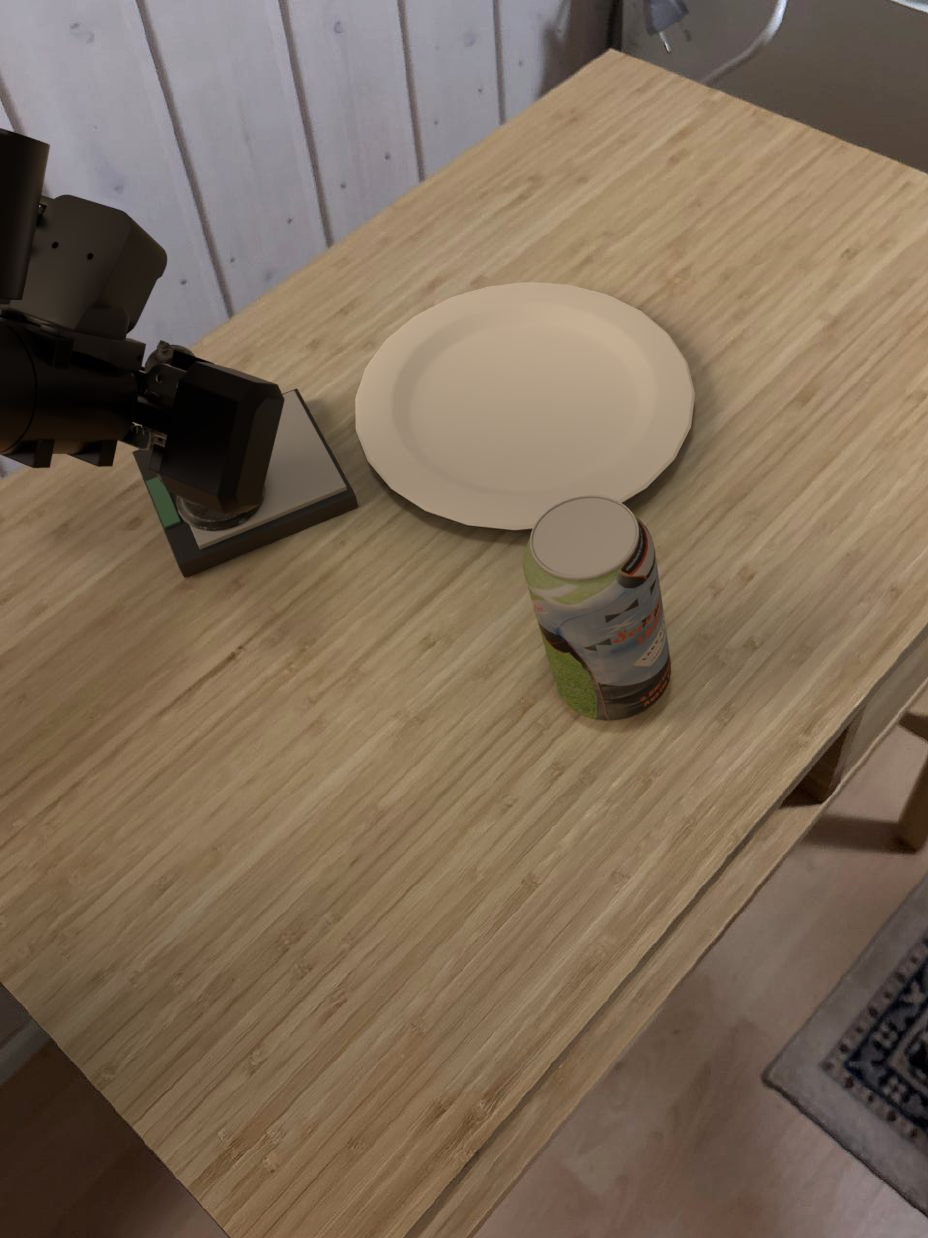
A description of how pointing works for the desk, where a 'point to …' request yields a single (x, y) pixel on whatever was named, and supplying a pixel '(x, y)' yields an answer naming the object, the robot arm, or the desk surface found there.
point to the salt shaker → (186, 508)
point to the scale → (294, 497)
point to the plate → (523, 404)
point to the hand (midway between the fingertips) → (204, 400)
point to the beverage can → (599, 607)
